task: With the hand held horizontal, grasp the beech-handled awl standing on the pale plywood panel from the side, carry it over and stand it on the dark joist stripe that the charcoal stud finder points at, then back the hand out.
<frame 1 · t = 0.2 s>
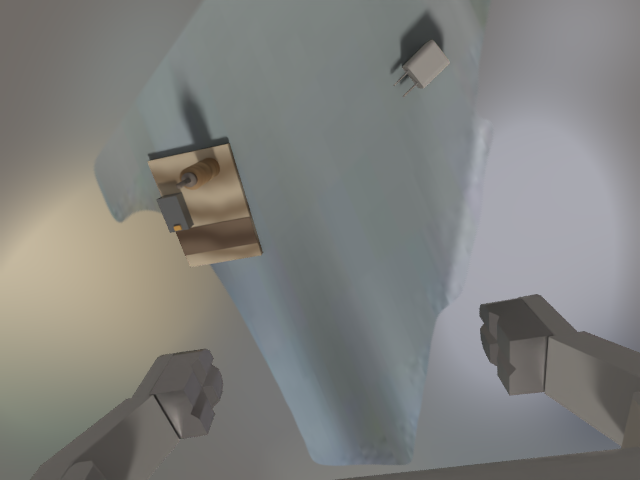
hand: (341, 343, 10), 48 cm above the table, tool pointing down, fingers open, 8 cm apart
usb wall charger: (414, 73, 50), on the table
subfloor panel: (209, 208, 59), on the table
stud finder: (178, 210, 59), point 1 cm above the table, touching subfloor panel
awl: (210, 167, 55), point 1 cm above the table, touching subfloor panel
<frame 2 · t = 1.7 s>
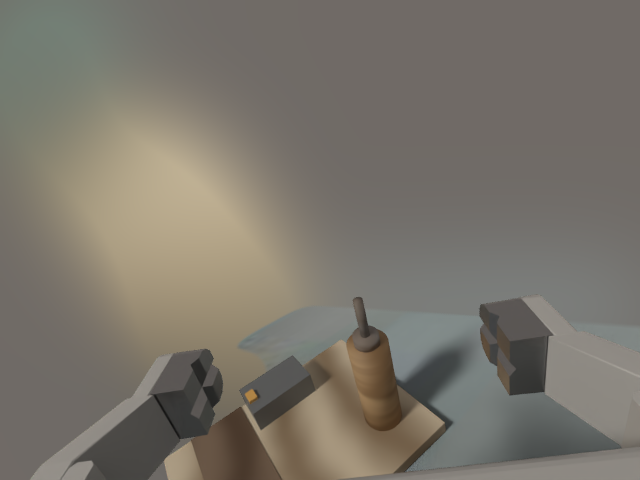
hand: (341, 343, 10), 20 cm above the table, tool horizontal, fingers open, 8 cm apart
subfloor panel: (300, 449, 29), on the table
stud finder: (280, 398, 33), point 1 cm above the table, touching subfloor panel
awl: (382, 413, 29), point 1 cm above the table, touching subfloor panel
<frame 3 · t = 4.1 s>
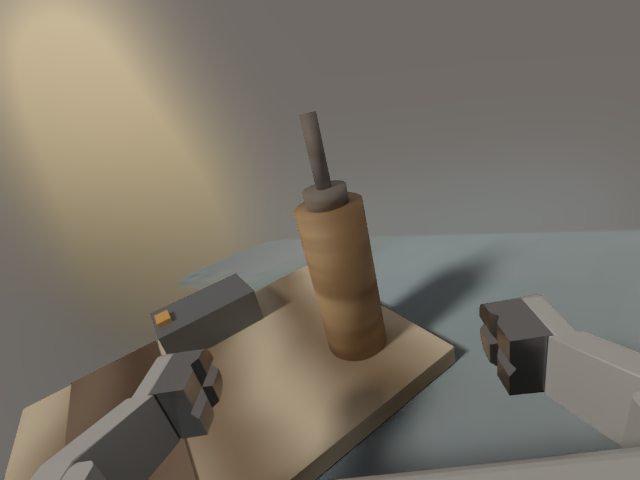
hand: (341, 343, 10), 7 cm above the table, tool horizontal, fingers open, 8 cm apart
subfloor panel: (228, 393, 19), on the table
stud finder: (213, 329, 23), point 1 cm above the table, touching subfloor panel
awl: (357, 339, 19), point 1 cm above the table, touching subfloor panel
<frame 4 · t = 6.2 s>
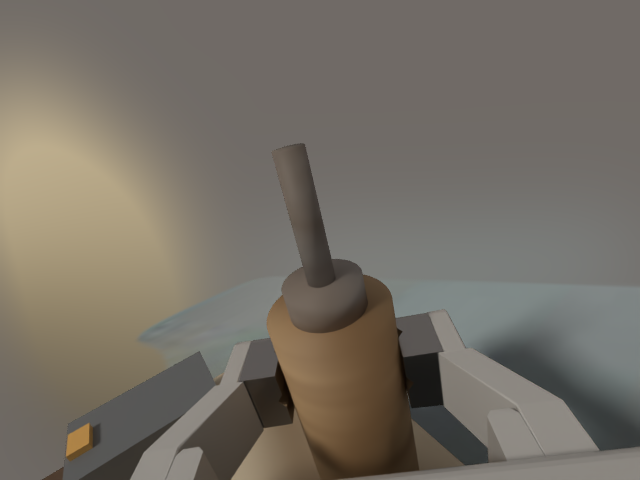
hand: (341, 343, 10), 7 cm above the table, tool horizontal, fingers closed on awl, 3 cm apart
stud finder: (163, 440, 16), point 1 cm above the table, touching subfloor panel
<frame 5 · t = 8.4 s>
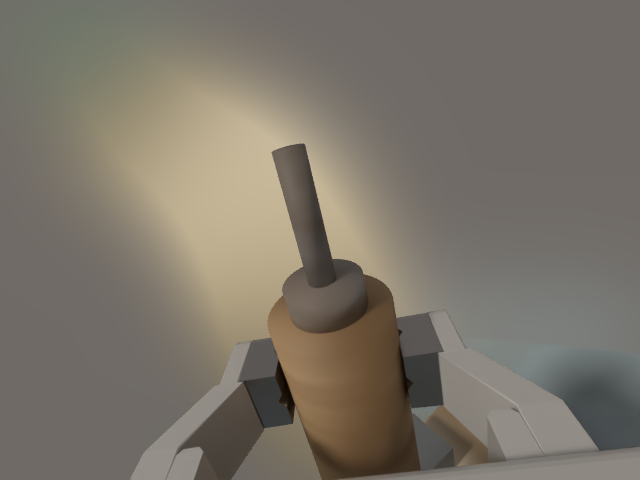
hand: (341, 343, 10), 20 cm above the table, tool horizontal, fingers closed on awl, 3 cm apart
stud finder: (405, 477, 24), point 1 cm above the table, touching subfloor panel
when the fingers open (8 cm above the table, at t = 10.9 s): awl drops 1 cm, resting on subfloor panel.
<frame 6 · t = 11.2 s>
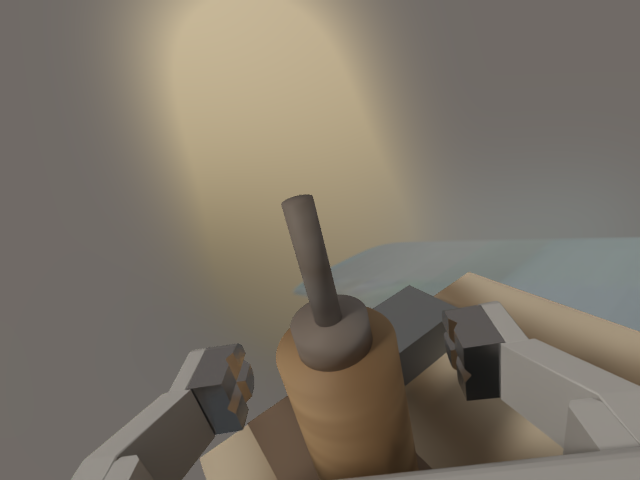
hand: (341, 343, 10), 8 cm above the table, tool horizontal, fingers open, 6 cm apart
subfloor panel: (469, 441, 15), on the table
stud finder: (399, 353, 19), point 1 cm above the table, touching subfloor panel
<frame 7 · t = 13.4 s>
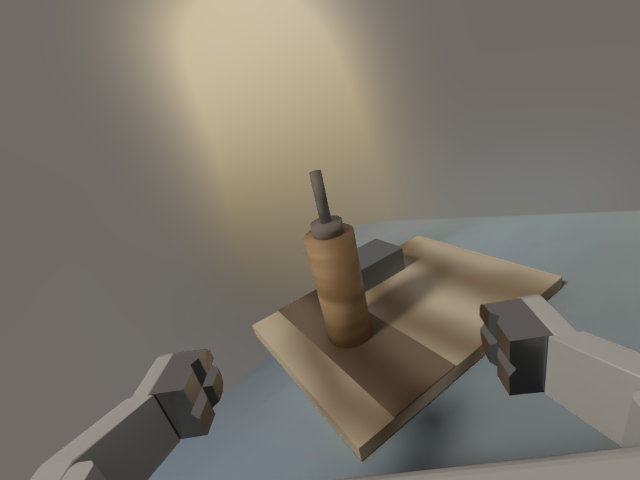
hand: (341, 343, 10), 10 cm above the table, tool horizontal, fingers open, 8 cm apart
subfloor panel: (401, 312, 27), on the table
stud finder: (367, 276, 31), point 1 cm above the table, touching subfloor panel
awl: (350, 332, 25), point 1 cm above the table, touching subfloor panel
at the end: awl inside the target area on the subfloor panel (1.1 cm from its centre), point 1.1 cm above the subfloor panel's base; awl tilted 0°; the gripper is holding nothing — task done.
